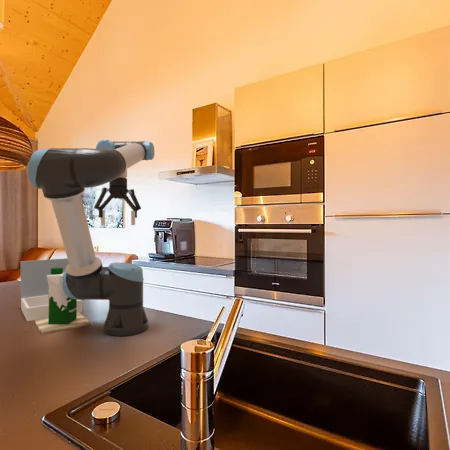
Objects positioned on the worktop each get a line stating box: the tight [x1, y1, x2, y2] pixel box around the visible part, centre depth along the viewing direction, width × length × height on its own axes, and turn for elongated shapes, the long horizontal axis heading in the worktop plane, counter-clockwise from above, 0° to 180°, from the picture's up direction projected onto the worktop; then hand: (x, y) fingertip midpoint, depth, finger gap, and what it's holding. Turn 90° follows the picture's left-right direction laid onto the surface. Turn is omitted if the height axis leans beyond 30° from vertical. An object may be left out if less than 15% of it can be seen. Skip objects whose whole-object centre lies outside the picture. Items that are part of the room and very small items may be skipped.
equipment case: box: [19, 257, 83, 322], centre depth 140 cm, size 27×20×21 cm
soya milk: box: [47, 267, 77, 324], centre depth 120 cm, size 9×9×20 cm
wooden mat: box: [34, 312, 92, 335], centre depth 120 cm, size 16×16×1 cm
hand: (118, 225), depth 143 cm, fingers open, 13 cm apart
